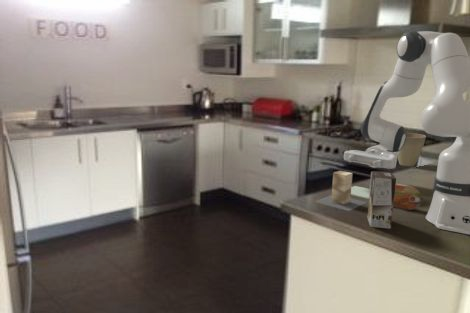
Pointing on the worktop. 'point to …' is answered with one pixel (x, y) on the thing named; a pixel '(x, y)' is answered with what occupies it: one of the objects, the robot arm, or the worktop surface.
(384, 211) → the coffee box
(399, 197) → the tin
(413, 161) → the plant pot
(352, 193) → the board
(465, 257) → the worktop surface
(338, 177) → the beech block
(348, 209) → the tile
